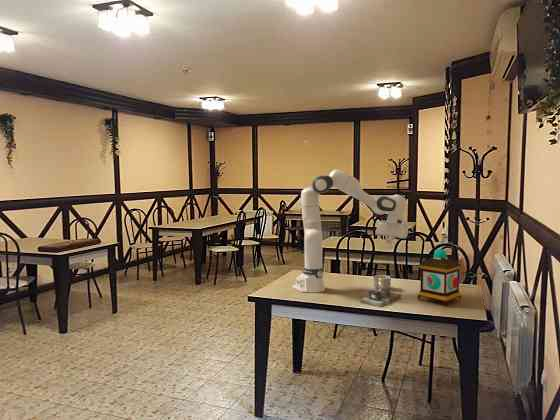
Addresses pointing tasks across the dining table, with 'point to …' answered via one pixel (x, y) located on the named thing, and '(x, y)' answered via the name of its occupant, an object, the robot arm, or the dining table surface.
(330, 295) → the dining table surface
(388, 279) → the teacup
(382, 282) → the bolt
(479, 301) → the dining table surface
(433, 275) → the decorative lantern
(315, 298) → the dining table surface
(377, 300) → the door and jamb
